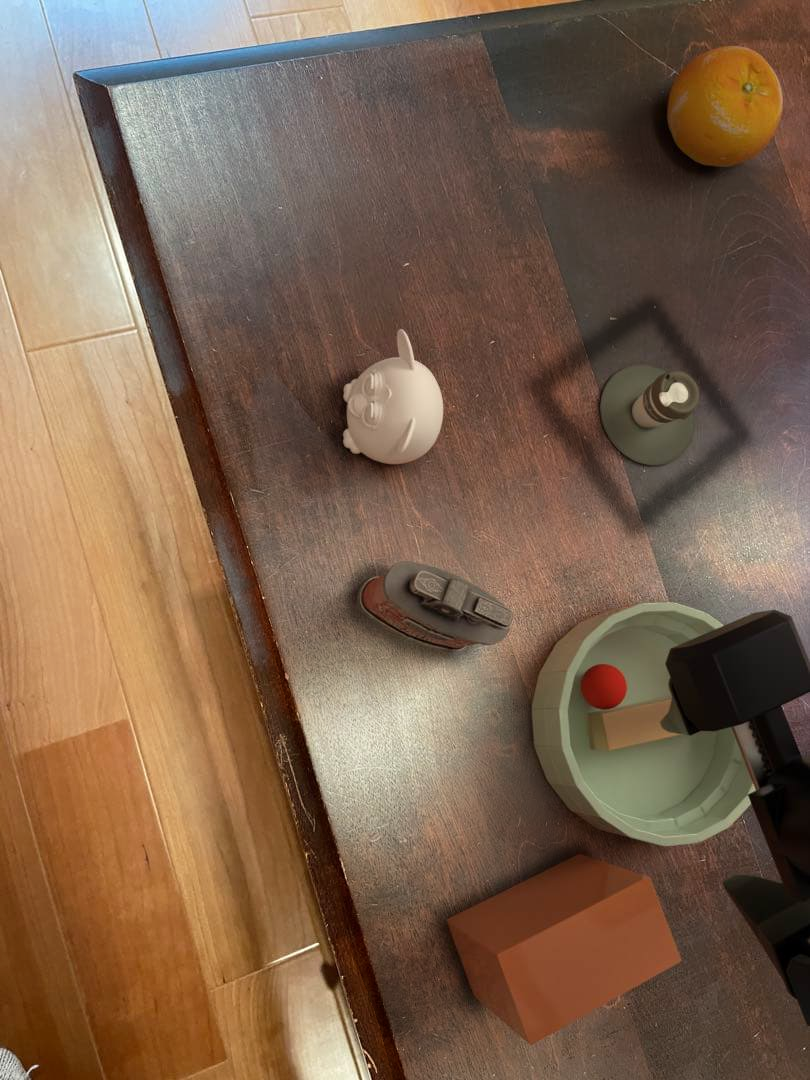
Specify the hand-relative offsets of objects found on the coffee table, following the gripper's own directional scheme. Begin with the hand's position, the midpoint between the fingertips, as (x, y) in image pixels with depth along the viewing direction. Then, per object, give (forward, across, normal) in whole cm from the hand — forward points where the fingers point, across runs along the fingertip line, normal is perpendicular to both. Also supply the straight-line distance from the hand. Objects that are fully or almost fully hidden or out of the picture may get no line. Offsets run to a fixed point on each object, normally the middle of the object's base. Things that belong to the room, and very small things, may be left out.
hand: (699, 800), depth 51 cm
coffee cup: (+12, +23, -14) cm, 30 cm away
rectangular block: (+12, -6, +8) cm, 16 cm away
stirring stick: (+11, +3, -4) cm, 12 cm away
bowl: (+12, +3, -4) cm, 13 cm away
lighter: (+12, +15, +8) cm, 21 cm away
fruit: (+12, +43, -28) cm, 53 cm away
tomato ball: (+10, +6, -2) cm, 12 cm away
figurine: (+12, +28, +5) cm, 31 cm away
